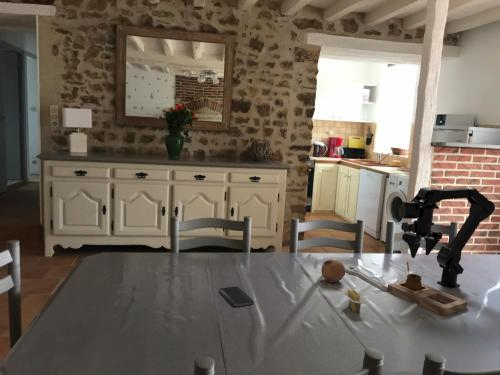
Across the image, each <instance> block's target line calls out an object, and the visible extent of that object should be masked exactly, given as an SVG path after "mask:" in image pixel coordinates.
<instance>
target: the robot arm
mask: <svg viewBox="0 0 500 375" xmlns="http://www.w3.org/2000/svg"><path fill="white" fill-rule="evenodd" d="M455 199H459V200H460V199H466V200H467V202H468V203H469V204H470V207H469V210H468V216H467V218H466V219H465V220H464V222H463V224H462V226H461V227H460V229H459V230H458V232H457V233H456V235H455V236H454V238H453V239H452V240H451V242H450V244H448V245H447V246H445V245H442V246H441V247H440V248H439V251H437V253H436V261H437V263H438V266H439V268H442V272H441V278H440V280H439V281H437V282H436V283H437V284H439V285H442V286H444V287H447V288H449V289H453V288H456V287H457V288H458V287H460V286H461V284H459V283H457V282H458V277H459V275H463V272H464V270H465V269H464V268H463V266H462V265H461V264H460V262H461V260H462V252H463V250H464V248H465V247H466V245H467V243H468V242H469V241H470V239H471V237H472V236H473V235H474V233H475V231H476V230H477V228H478V227H479V225H480V224H481V223H482V222H483V221H485V220H486V219H488V218H489V217H490V216H491V215H492V214H493V213H494V211H495V209H496V206H495V202H493V200H490V199H489V198H487V197H486V196H485V195H484V194H482V193H481V192H479V190H478V189H477V188H474V187H471V186H467V187H455V188H442V189H441V188H436V187H435V188H434V187H426V186H423V187H421V188H419V190H418V191H417V194H415V196H414V197H413V198H412V200H410V201H405V200H404V201H402V202H401V204H400V205H399V208H398V210H397V211H398V217H399V218H400V219H401V220H402V219H406V220H407V219H410V220H414V221H413V223H410V224H409V222H408V221H406V222H401V227H400V228H401V231H403V234H402V235H401V240H402V241H403V242H405V243H406V244H407V246H408V248H409V252H410V255H411V256H410V257H411V258H412V259H415V257H416V256H417V253H418V251H419V249H420V247H421V241H422V239H424V241H425V256H429V255H430V253H431V252H432V251H433V249H434V247H435V246H437V244H438V243H439V242H440V241H441V240H442V239H443V233H442V231H439V230H435V229H432V226H435V222H434V221H433V217H434V210H440V207H439V206H438V204H437V203H440V202H442V201H445V200H455Z"/></svg>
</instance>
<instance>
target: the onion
mask: <svg viewBox="0 0 500 375" xmlns="http://www.w3.org/2000/svg"><path fill="white" fill-rule="evenodd" d="M345 268H346V267H345V265H344V264H343V262H341V261H340V260H336V259H328V260H325V261H324V262H323V264H322V265H321V275H322V277H323V279H324V280H325V281H326V282H329V283H335V282H336V283H337V282H341V281H342V280H343V278H344V276H345V275H346V271H345Z"/></svg>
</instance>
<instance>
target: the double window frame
mask: <svg viewBox="0 0 500 375" xmlns="http://www.w3.org/2000/svg"><path fill="white" fill-rule="evenodd" d="M405 282H406V279H405V280H401V281H397V282H393V283H389V284H387V287H388V289H387V291H388V292H389V293H392V294H394V295H395V296H398V297H401V298H403V299H405V300H407V301H410V302H412V303H413V304H417V305H419V306H420V307H423V308H425V309H428V310H430V311H432V312H435V313H436V314H439V315H441V316H444V317H446V316H447V315H451V314H454V313H458V312H459V311H462V310H465V309H467V308H468V303H469V302H468V301H467V300H464V299H462V298H460V297H457V296H455V295H452V294H449V293H447V292H444V291H441V290H440V289H437V288H434V287H431V286H429V285H426V284H424V283H422V287H421V290H419V291H413V290H410V289H408V288H405ZM444 303H445V304H444Z"/></svg>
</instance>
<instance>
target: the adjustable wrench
mask: <svg viewBox="0 0 500 375" xmlns="http://www.w3.org/2000/svg"><path fill="white" fill-rule="evenodd" d="M345 273H347V274H349V275H355V276H357V277H358V278H361V279H362V280H364V281H366V282H368V283H369V284H370V285H373V286H375V287H376V288H377V289H380V290H381V291H384V292H386V291H387V289H388V285H385V284H383V283H382V282H379V281H377V280H376V279H374V278H372V277H370V276H369V275H367V274H365V273H363V272H362V271H361V270H360V267H357V266H353V265H349V267H345Z"/></svg>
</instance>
